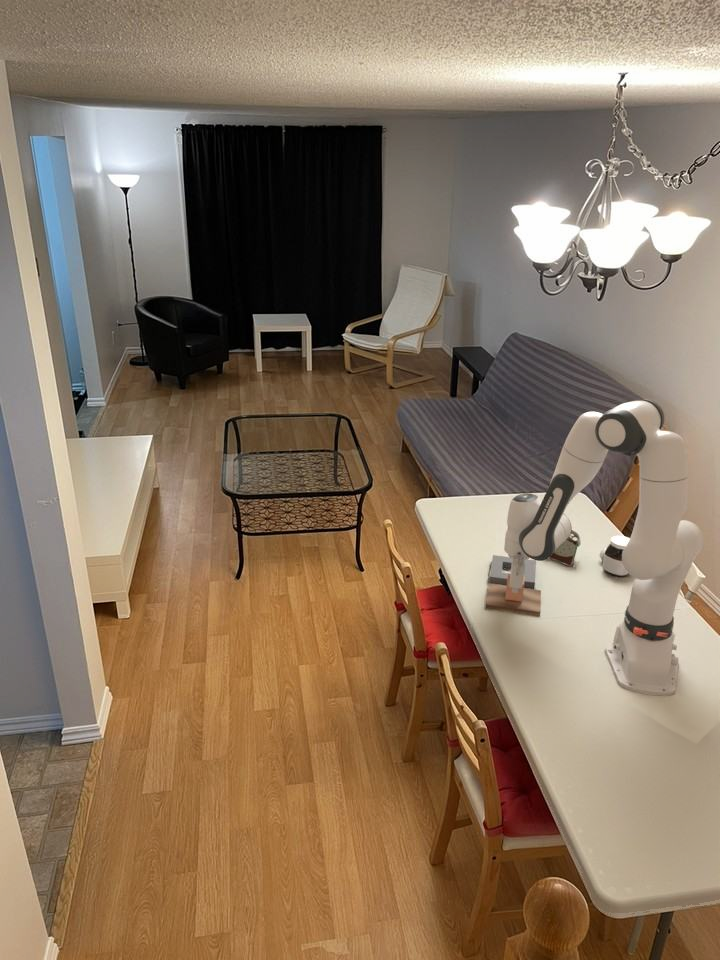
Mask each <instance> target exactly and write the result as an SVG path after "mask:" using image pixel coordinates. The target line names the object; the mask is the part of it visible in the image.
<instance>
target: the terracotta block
mask: <svg viewBox="0 0 720 960" xmlns="http://www.w3.org/2000/svg"><path fill="white" fill-rule="evenodd" d="M524 579H525V576H523V584H522V588H521V589H518V593H513V592H512V588H510V587H509V583H510V574H508V578H507V587H506V596H505V599H506V600H513V601H521V602H522V598H523V590H524Z"/></svg>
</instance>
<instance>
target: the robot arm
mask: <svg viewBox="0 0 720 960" xmlns="http://www.w3.org/2000/svg"><path fill="white" fill-rule="evenodd" d="M664 423H665V413H664V411H663V409H662V407H661V406H660V405H659V404H658V403H657V402H655V401H654V400H651V399H647V398H640V399H635V400H632V401H629V402H624V403H620V404H619V405H617V406H615V407H613V408H612V409H608V410H607V411H605V412H604V413H601V412H598V411H587V412H584V413H582V414H580V415H579V417H578V418H577V420H576V421H575V423H573V426H572V427H571V429H570V432H569V433H568V435H567V437H566V439H565V442H564V443H563V446H562V448H561V451H560V455H559V457H558V461H557V463H556V465H555V469H554V472H553V474H552V477H551V479H550V483H549V486H548V488H547V490H546V492H545V494H544V497H543V499H542V500H541V498H540V497H539V496H538V495H536V494H534V493H526V492H525V493H519V494H517V495H516V496H514V497H513V498H512V499H511V500H510V503H509V506H508V511H507V516H506V517H507V518H506V525H507V529H506V531H505V538H504V547H503V550H504V552H505V553H506V554H507V557H510V558H512V564H511V569H510V572H509V573H510V583H509V587H510V588H512V592H513V593H518V589H521V588H522V584H523V575H524V565H525V560H527V559H528V560H536V562H540V561H541V562H544V561H547V560H548V559H550V558H549V557H550V556H551V555H552V554H553V553H554V551H555V550H556V549H557V548H558V547H559V546H560V545H561V544H562V543H563V542H564V541H565V540H566V539H567V538H568V537H569V536H570V534H571V531H572V530H573V529H572V523H571V521H570V518H569V517H568V516H567V514H566V515H565V510H567V507H568V506H569V504H570V503H571V501H573V499H574V498H575V497H576V496H577V495H578V494H579V493H580V492H581V491H582V490H583V489H584V488H586V487H587V486H588V485H589V484H590V483H591V482H592V481H593V480H594V478H595V477H596V475H597V474H598V473H599V471H600V470H601V467H602V466H603V464H604V461H605V460H606V457H607V456H608V452H609V451H612V452H615V453H620V454H622V455H625V456H627V457H634V456H637V459H638V462H639V490H638V491H639V497H638V498H639V500H638V509H637V514H636V517H635V522H634V525H633V529H632V533H631V535H630V537H629V538H630V540H629V542H628V544H627V545H626V547H625V548H624V550H623V552H622V563H623V565H624V568H625V569H626V571H627V572H628V573H629V574H628V575H630V576H631V577H633V578H635V579H634V581H633V582H632V586H631V591H630V597H629V601H628V602H629V603H628V605H627V606H626V609H625V611H624V619H623V621H622V622H621V623H620V624H618V625H617V626H616V629H615V632H614V637H613V640H612V641H613V642H612V645H608V646H606V647H605V649H604V653H605V656H606V658H607V661H608V663H609V665H610V668H611V670H612V672H613V674H614V677H615V680H616V682H617V683H618V685H619V686H620V687H622V688H625V689H627V690H630V691H633V692H636V693H641V694H646V695H652V696H670V695H674V694H676V689H677V678H678V670H679V669H678V668H679V657H678V656H676V654H675V653H673V650H674V651H677V647H678V645H677V644H674V642H675V641H674V640H675V637H676V634H675V632H673V629H674V624H675V623H674V620H675V618H674V614H675V613H674V612H675V609H676V604H677V601H678V597H679V594H680V591H681V588H682V587H683V584H684V582H685V580H686V578H687V576H688V574H689V571H690V569H691V567H692V565H693V562H694V561H695V559H696V557H697V555H698V554H699V553H700V552H701V550H702V549H703V547H704V546H703V545H704V542H705V540H704V535H703V533H702V531H701V529H700V528H699V527H698V525H697V524H695V523H694V522H691V521H690V520H686V519H682V517H683V516H684V514H685V512H686V511H687V508H688V504H689V503H688V501H689V500H688V499H689V498H688V497H689V496H688V491H689V488H688V487H689V468H688V466H689V465H688V457H687V449H686V445H685V441H684V438H683V437H682V436H681V435H680V434H678V433H676V432H673V431H669V430H663V429H662V428H663V427H664Z"/></svg>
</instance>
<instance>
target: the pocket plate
mask: <svg viewBox="0 0 720 960" xmlns="http://www.w3.org/2000/svg"><path fill="white" fill-rule="evenodd" d="M511 564H512V558H510V557H509V556H502V555H496V554H493V555H492V559H491V565H490V567H491V568H490V572H489V581H488V584H489V583H490V584H497V585H504V586H507V578H508V574H510V573H511V572H509V573H508V572H503V569H504V568H505V569H506V570H511ZM536 567H537V560H533V559H527V560H525V565H524V575H523V576H525V579H524V588H527V589H534V590H535V586H536V572H537V571H536V569H537V568H536Z"/></svg>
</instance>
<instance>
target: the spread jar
mask: <svg viewBox="0 0 720 960" xmlns="http://www.w3.org/2000/svg"><path fill="white" fill-rule="evenodd" d="M630 538H631V537H628V536H624V535H614V536H612V537H611V538H610V543H609V544H608V546H605V547H604V548H603V549H602V550H601V551H600V553H599V559H600V560H601V561H602V570H603V571H604V572H605V573H606V574H607V575H609V576H611V577H614V578H626V577H627V576H628V575H630V574H629V573H628V572H627V571H626V569H625V568H624V565H623V563H622V552H623V550H624V548H625V547H626V545H627V544H628V542H629V540H630Z"/></svg>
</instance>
